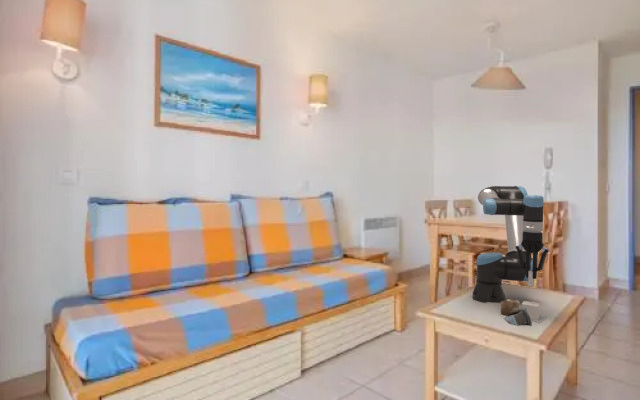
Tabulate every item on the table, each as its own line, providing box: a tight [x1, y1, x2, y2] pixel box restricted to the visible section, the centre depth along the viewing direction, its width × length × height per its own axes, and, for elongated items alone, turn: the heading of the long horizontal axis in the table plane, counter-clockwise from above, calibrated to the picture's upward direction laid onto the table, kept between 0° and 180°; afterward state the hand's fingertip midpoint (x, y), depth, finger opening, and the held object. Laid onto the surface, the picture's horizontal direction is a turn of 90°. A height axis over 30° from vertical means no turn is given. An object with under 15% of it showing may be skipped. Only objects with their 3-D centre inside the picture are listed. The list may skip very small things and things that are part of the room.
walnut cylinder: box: [500, 300, 512, 317], centre depth 163 cm, size 4×4×6 cm
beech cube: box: [506, 298, 520, 311], centre depth 168 cm, size 5×5×5 cm
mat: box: [531, 315, 547, 324], centre depth 159 cm, size 10×10×1 cm
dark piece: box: [503, 308, 532, 327], centre depth 154 cm, size 10×7×12 cm
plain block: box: [521, 300, 541, 321], centre depth 159 cm, size 6×6×6 cm
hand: (531, 285), depth 159 cm, fingers closed
